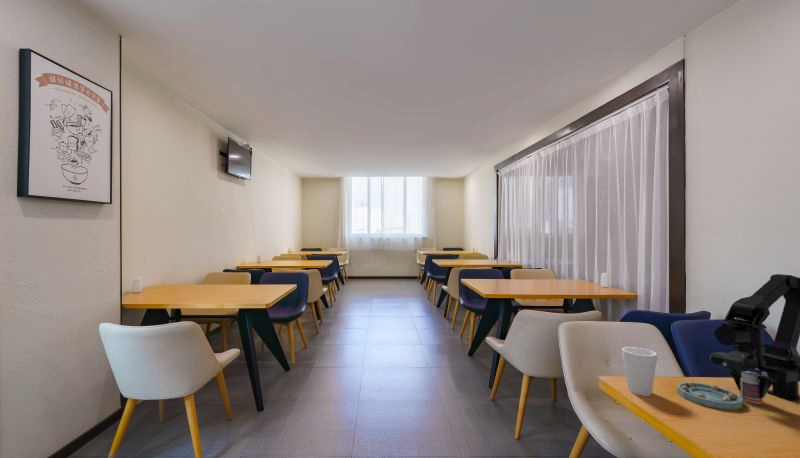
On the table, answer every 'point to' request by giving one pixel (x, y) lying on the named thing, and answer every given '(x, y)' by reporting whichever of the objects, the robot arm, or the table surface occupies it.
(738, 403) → the tray
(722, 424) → the table surface
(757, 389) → the pill bottle
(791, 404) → the table surface
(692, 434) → the table surface
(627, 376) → the foam cup
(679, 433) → the table surface
